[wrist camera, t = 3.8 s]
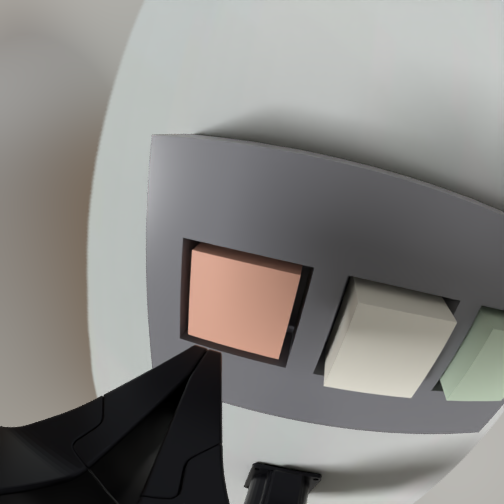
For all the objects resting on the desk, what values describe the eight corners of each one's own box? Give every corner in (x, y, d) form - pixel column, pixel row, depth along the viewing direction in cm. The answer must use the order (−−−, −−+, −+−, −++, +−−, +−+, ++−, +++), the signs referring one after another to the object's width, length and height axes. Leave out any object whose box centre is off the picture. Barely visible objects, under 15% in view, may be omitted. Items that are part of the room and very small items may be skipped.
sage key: (487, 370, 11) (501, 400, 9) (434, 365, 12) (446, 400, 10) (522, 309, 10) (544, 337, 7) (471, 297, 10) (493, 328, 8)
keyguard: (466, 395, 14) (478, 432, 11) (179, 341, 17) (153, 378, 14) (549, 233, 10) (584, 257, 6) (191, 134, 13) (152, 134, 9)
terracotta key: (286, 325, 14) (278, 359, 12) (207, 305, 15) (188, 334, 12) (305, 249, 12) (300, 275, 10) (215, 229, 13) (192, 250, 11)
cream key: (402, 360, 12) (411, 398, 10) (325, 347, 13) (323, 386, 10) (437, 289, 11) (457, 322, 8) (352, 270, 11) (358, 302, 9)
